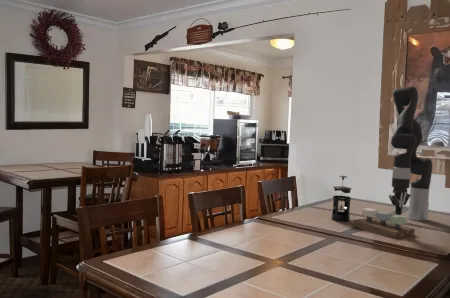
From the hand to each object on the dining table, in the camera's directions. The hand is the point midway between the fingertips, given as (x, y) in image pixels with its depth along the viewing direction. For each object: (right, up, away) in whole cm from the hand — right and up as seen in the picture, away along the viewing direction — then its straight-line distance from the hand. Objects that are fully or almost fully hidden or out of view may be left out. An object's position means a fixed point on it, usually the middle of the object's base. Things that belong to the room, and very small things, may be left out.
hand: (398, 214), depth 193 cm
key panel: (-5, -9, +7) cm, 12 cm away
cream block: (-9, -5, +14) cm, 17 cm away
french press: (-19, -7, +27) cm, 33 cm away
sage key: (0, -7, 0) cm, 7 cm away
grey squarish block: (-4, -6, +7) cm, 10 cm away
